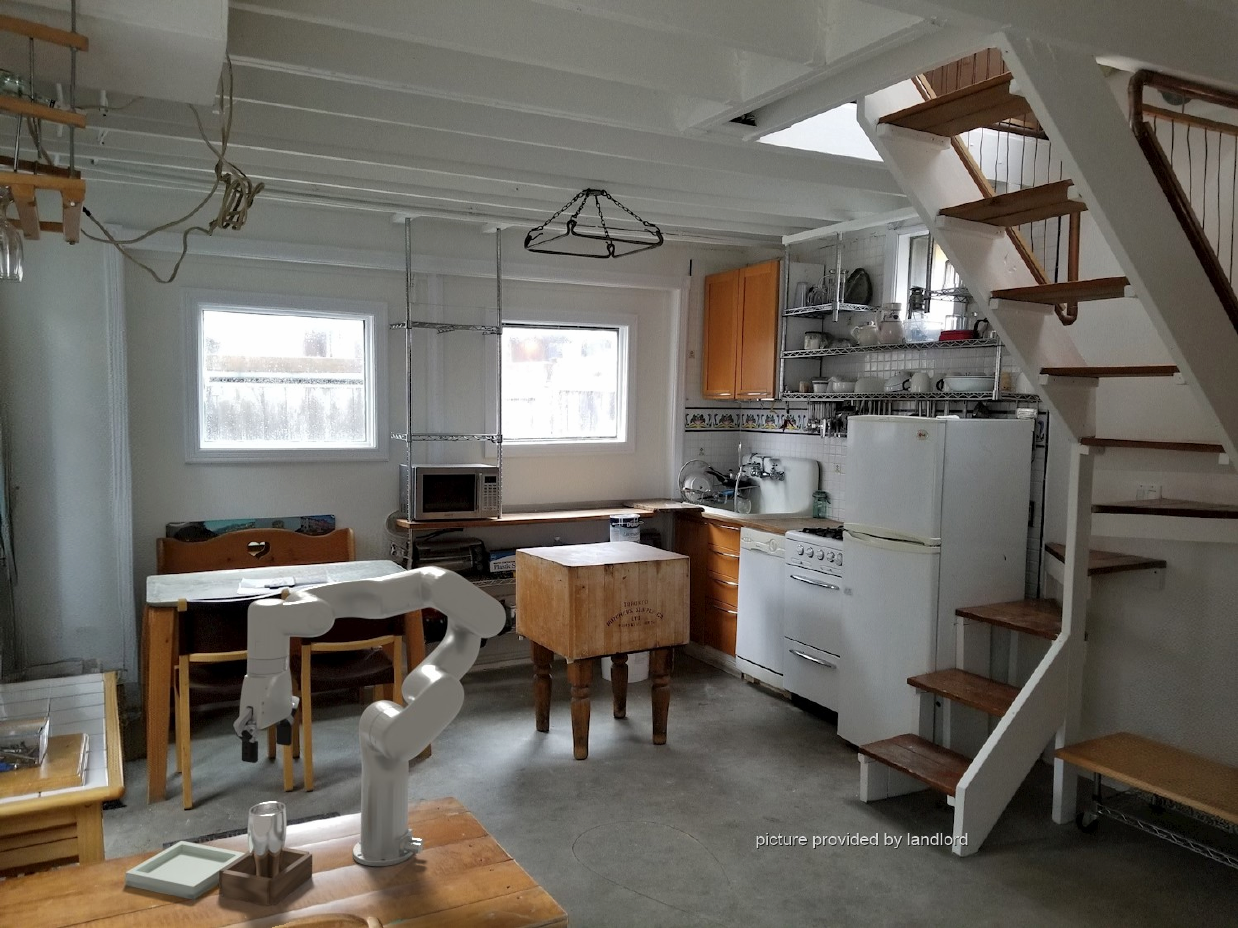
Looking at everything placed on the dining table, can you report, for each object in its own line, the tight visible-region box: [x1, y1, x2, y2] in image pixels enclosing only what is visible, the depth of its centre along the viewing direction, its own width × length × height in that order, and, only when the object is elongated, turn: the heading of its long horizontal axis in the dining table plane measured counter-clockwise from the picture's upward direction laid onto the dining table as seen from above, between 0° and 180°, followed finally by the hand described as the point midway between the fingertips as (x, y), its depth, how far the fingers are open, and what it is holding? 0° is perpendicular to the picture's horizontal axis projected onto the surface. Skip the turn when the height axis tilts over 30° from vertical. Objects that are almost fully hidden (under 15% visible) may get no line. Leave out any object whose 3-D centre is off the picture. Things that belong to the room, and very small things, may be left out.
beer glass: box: [247, 801, 287, 879], centre depth 170 cm, size 7×7×15 cm
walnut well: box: [218, 846, 313, 906], centre depth 171 cm, size 12×12×4 cm
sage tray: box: [124, 840, 246, 901], centre depth 174 cm, size 16×14×2 cm
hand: (267, 752), depth 170 cm, fingers open, 9 cm apart
